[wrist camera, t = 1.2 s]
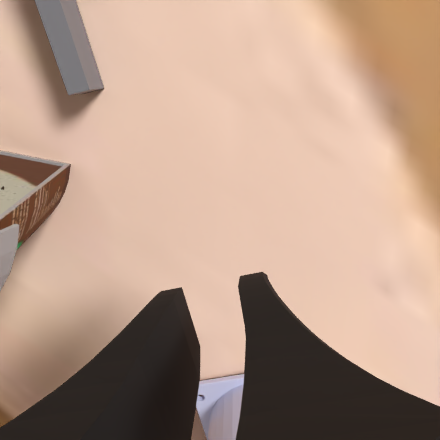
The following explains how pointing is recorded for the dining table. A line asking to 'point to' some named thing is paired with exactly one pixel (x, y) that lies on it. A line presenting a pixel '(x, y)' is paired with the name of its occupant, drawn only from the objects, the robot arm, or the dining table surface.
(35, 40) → the dining table surface
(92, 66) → the grey piece
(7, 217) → the food container
